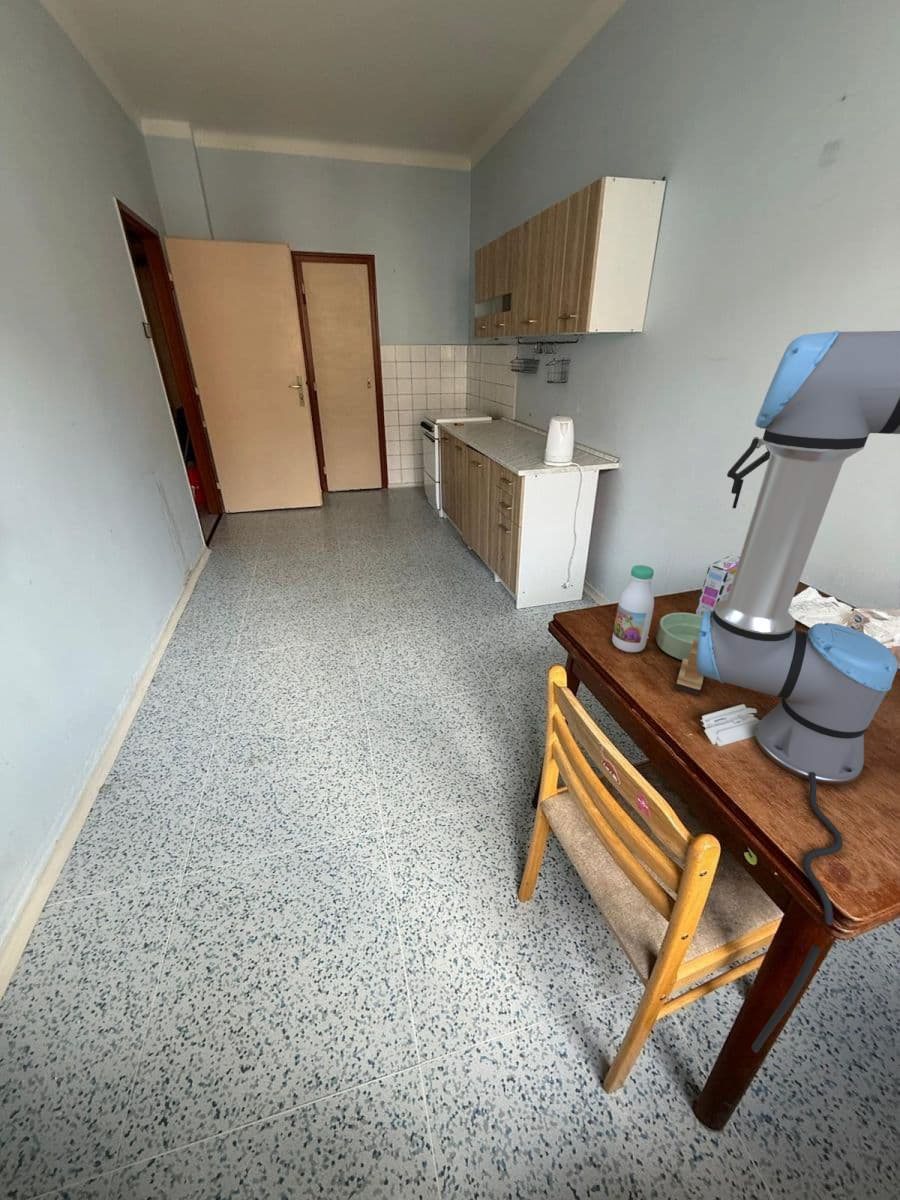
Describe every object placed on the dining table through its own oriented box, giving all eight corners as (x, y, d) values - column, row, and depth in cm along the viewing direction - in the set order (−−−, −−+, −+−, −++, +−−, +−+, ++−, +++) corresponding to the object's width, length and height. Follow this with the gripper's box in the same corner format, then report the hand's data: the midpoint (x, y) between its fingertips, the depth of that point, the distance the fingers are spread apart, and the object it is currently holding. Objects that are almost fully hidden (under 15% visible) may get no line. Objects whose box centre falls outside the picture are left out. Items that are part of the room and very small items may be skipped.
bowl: (718, 672, 103) (725, 651, 101) (650, 653, 110) (655, 633, 107) (723, 641, 114) (729, 621, 111) (661, 626, 120) (665, 607, 118)
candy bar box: (711, 630, 118) (728, 571, 110) (692, 622, 122) (707, 564, 114) (733, 617, 124) (751, 559, 116) (714, 609, 127) (731, 553, 120)
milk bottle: (625, 632, 118) (639, 559, 109) (652, 646, 112) (669, 570, 103) (604, 641, 115) (617, 566, 105) (631, 657, 109) (646, 579, 99)
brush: (698, 696, 96) (709, 660, 92) (674, 689, 98) (684, 653, 94) (702, 675, 102) (713, 640, 98) (680, 669, 104) (689, 634, 100)
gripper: (865, 417, 100) (828, 514, 110) (732, 412, 111) (710, 500, 121) (870, 422, 94) (831, 523, 104) (730, 415, 106) (707, 507, 116)
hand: (766, 511), depth 113 cm, fingers open, 13 cm apart
